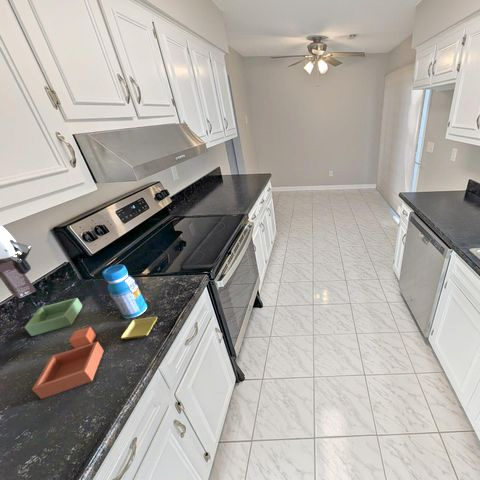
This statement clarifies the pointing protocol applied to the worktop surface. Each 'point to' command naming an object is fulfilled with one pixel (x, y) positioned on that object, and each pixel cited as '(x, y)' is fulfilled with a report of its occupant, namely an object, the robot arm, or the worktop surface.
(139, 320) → the yellow flat square tray
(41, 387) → the terracotta bin
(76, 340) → the block
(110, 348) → the worktop surface
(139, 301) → the blue medicine bottle
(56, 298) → the worktop surface
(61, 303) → the sage bin
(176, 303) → the worktop surface
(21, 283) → the box
